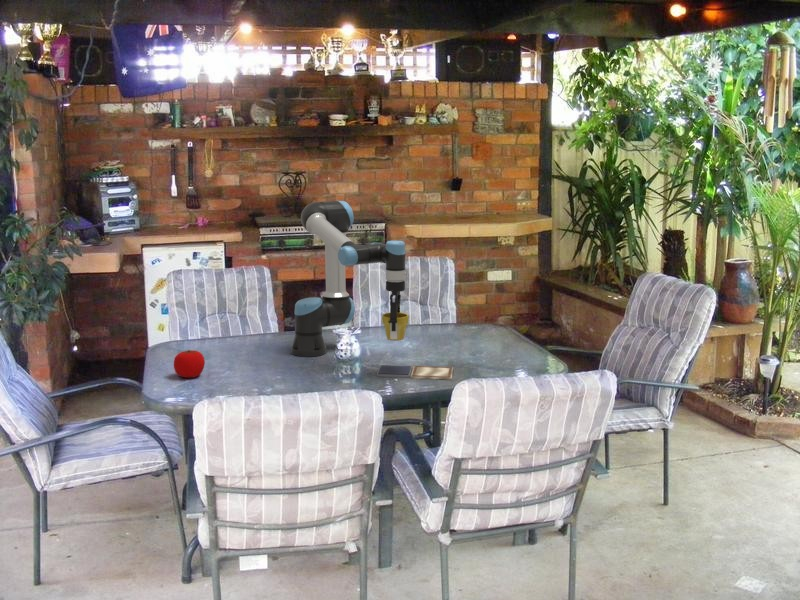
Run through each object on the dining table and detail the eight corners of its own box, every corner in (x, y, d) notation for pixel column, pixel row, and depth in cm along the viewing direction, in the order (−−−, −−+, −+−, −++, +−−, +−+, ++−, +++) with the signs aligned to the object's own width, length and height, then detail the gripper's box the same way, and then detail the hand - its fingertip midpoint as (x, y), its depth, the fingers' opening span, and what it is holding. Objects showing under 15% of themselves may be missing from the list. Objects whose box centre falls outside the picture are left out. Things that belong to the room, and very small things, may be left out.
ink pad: (376, 376, 357) (376, 373, 357) (380, 367, 370) (380, 364, 370) (409, 377, 356) (409, 374, 356) (412, 368, 369) (412, 365, 368)
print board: (410, 378, 354) (410, 376, 354) (413, 367, 370) (413, 365, 370) (451, 380, 353) (451, 377, 353) (453, 369, 369) (453, 366, 368)
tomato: (177, 381, 348) (176, 355, 346) (171, 374, 358) (170, 348, 356) (208, 378, 352) (207, 352, 350) (202, 370, 363) (201, 345, 361)
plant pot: (389, 343, 353) (389, 318, 351) (377, 337, 362) (377, 313, 360) (412, 340, 358) (413, 316, 356) (400, 335, 367) (400, 311, 365)
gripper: (402, 285, 344) (401, 342, 348) (407, 275, 366) (407, 329, 371) (382, 285, 345) (382, 342, 349) (388, 275, 367) (388, 329, 371)
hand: (395, 335), depth 360 cm, fingers closed on plant pot, 10 cm apart
